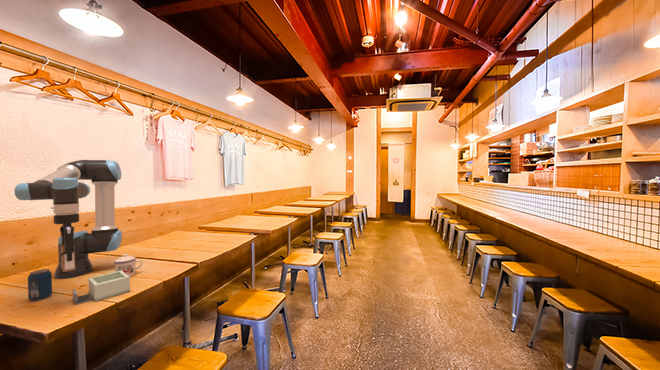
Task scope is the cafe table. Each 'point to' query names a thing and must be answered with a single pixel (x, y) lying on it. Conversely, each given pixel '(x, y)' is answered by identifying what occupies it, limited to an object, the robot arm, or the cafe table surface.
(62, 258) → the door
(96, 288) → the pale green open box
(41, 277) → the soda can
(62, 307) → the cafe table surface
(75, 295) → the hinge rail
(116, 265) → the teacup with lid
